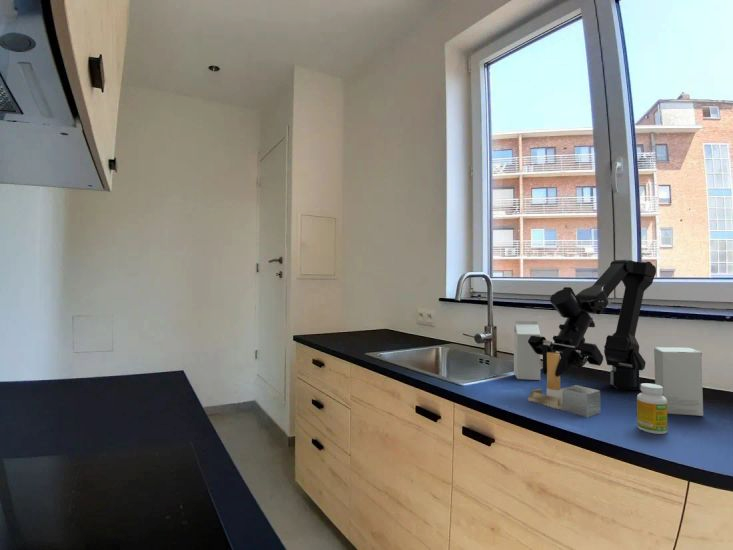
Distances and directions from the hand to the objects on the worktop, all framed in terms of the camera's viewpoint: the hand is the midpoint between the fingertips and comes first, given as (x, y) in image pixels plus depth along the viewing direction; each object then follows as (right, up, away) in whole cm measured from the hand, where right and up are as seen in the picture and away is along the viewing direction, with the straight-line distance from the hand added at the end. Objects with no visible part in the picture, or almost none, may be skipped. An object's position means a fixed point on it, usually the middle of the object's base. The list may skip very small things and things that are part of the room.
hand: (550, 374), depth 105 cm
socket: (+5, -8, -5) cm, 11 cm away
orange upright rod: (+2, -7, -1) cm, 8 cm away
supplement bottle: (+14, -8, -17) cm, 24 cm away
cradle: (+1, -8, +1) cm, 8 cm away
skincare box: (+29, -8, -5) cm, 31 cm away
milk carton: (+5, -8, +29) cm, 30 cm away
